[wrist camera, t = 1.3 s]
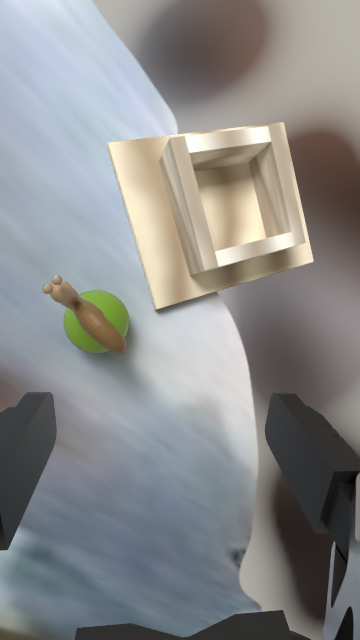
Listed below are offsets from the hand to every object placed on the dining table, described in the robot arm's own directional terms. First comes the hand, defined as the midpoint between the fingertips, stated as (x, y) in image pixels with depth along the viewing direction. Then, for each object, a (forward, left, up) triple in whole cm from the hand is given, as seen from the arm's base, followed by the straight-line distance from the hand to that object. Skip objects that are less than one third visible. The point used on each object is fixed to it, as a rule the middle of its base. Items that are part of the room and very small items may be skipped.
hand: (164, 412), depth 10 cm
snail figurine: (-1, +4, -18) cm, 19 cm away
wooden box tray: (+15, +11, -18) cm, 26 cm away
